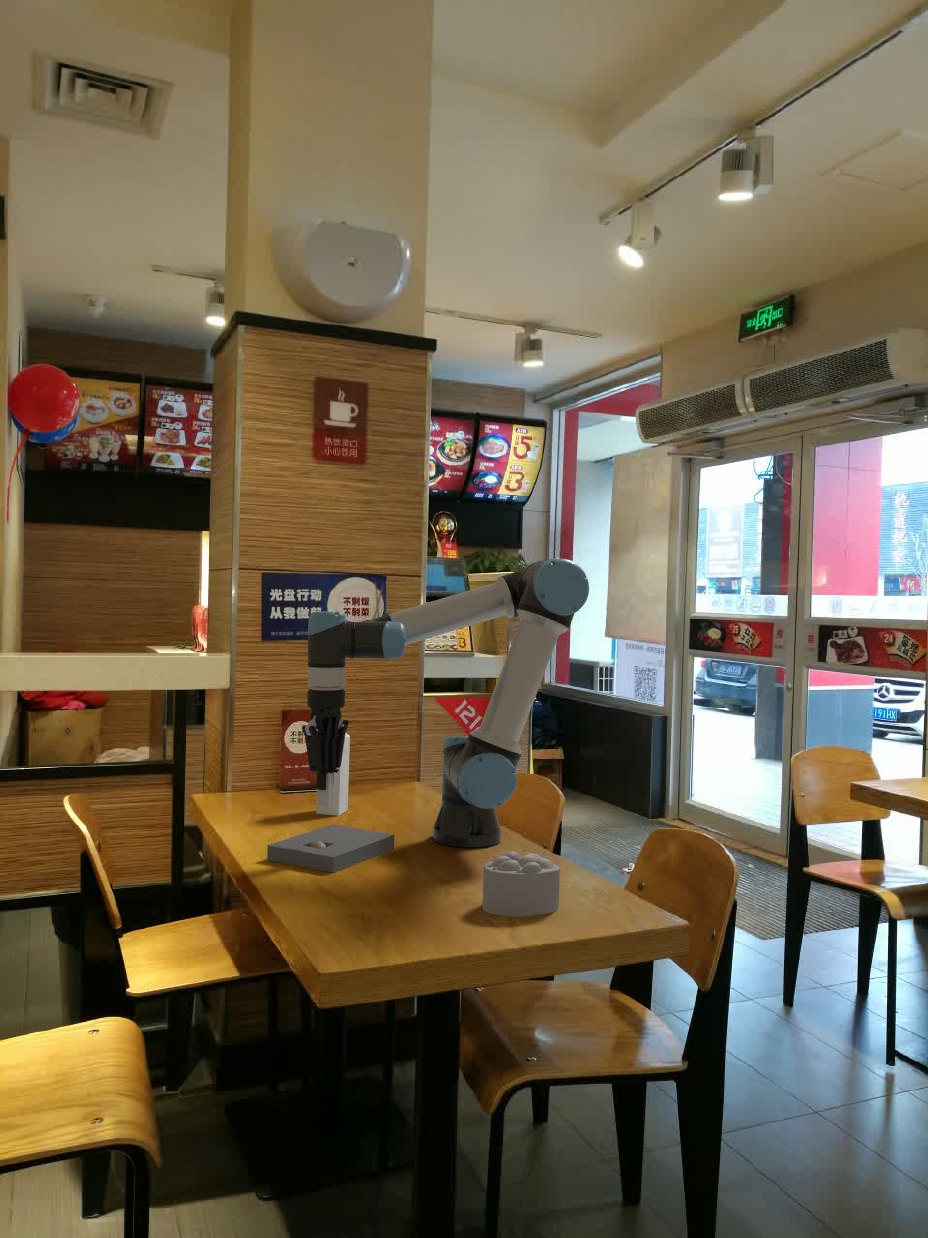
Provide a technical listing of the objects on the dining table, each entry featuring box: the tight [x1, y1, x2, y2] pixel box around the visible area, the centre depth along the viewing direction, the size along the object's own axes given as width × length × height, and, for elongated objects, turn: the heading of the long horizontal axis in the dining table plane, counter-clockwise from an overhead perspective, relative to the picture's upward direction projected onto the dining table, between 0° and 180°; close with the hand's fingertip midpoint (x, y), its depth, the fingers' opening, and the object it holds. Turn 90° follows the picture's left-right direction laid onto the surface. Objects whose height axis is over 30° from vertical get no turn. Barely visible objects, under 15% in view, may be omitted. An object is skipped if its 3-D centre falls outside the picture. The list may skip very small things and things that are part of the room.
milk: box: [315, 732, 351, 817], centre depth 230 cm, size 6×6×22 cm
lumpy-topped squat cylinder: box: [481, 850, 561, 918], centre depth 161 cm, size 10×13×9 cm
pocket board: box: [266, 824, 396, 874], centre depth 191 cm, size 16×22×3 cm
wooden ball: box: [309, 841, 326, 849], centre depth 187 cm, size 4×4×4 cm
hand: (325, 805), depth 188 cm, fingers closed
